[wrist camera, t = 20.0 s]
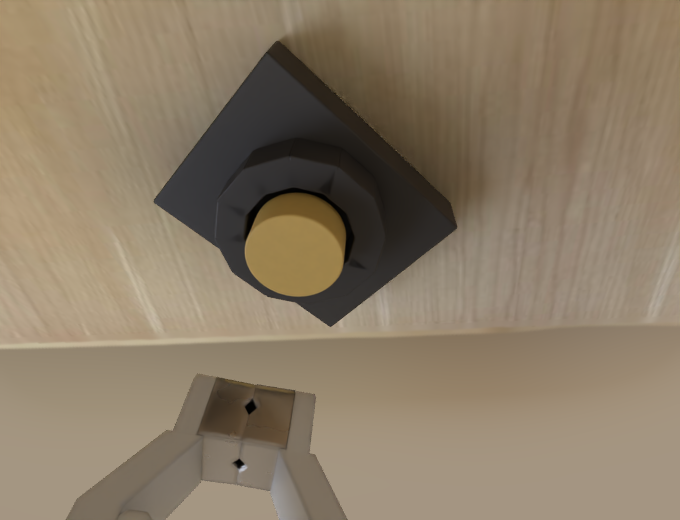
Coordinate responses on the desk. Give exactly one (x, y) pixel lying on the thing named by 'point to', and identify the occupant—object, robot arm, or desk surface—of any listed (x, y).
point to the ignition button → (296, 245)
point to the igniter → (306, 182)
